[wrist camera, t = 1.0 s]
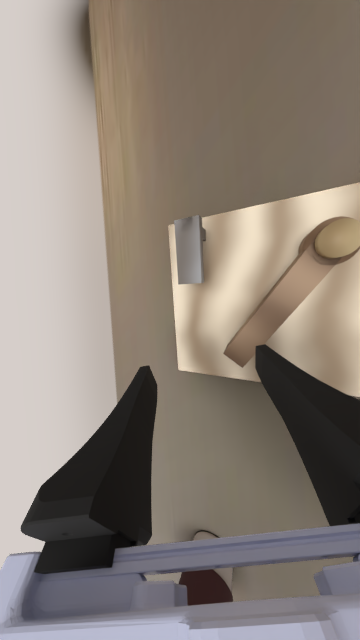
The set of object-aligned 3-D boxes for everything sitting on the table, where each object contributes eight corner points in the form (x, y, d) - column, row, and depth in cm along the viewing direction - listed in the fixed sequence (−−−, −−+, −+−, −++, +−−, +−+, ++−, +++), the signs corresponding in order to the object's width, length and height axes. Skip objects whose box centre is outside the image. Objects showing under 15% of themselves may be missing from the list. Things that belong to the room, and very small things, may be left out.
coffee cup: (190, 552, 35) (150, 718, 22) (186, 514, 34) (138, 670, 20) (242, 581, 31) (231, 807, 18) (239, 540, 30) (225, 755, 16)
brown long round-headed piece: (317, 220, 16) (330, 208, 13) (356, 238, 15) (378, 229, 13) (223, 342, 22) (219, 350, 19) (248, 359, 21) (247, 371, 19)
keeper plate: (428, 172, 14) (536, 105, 9) (386, 394, 18) (442, 444, 12) (172, 227, 23) (147, 212, 18) (181, 366, 27) (163, 387, 22)
